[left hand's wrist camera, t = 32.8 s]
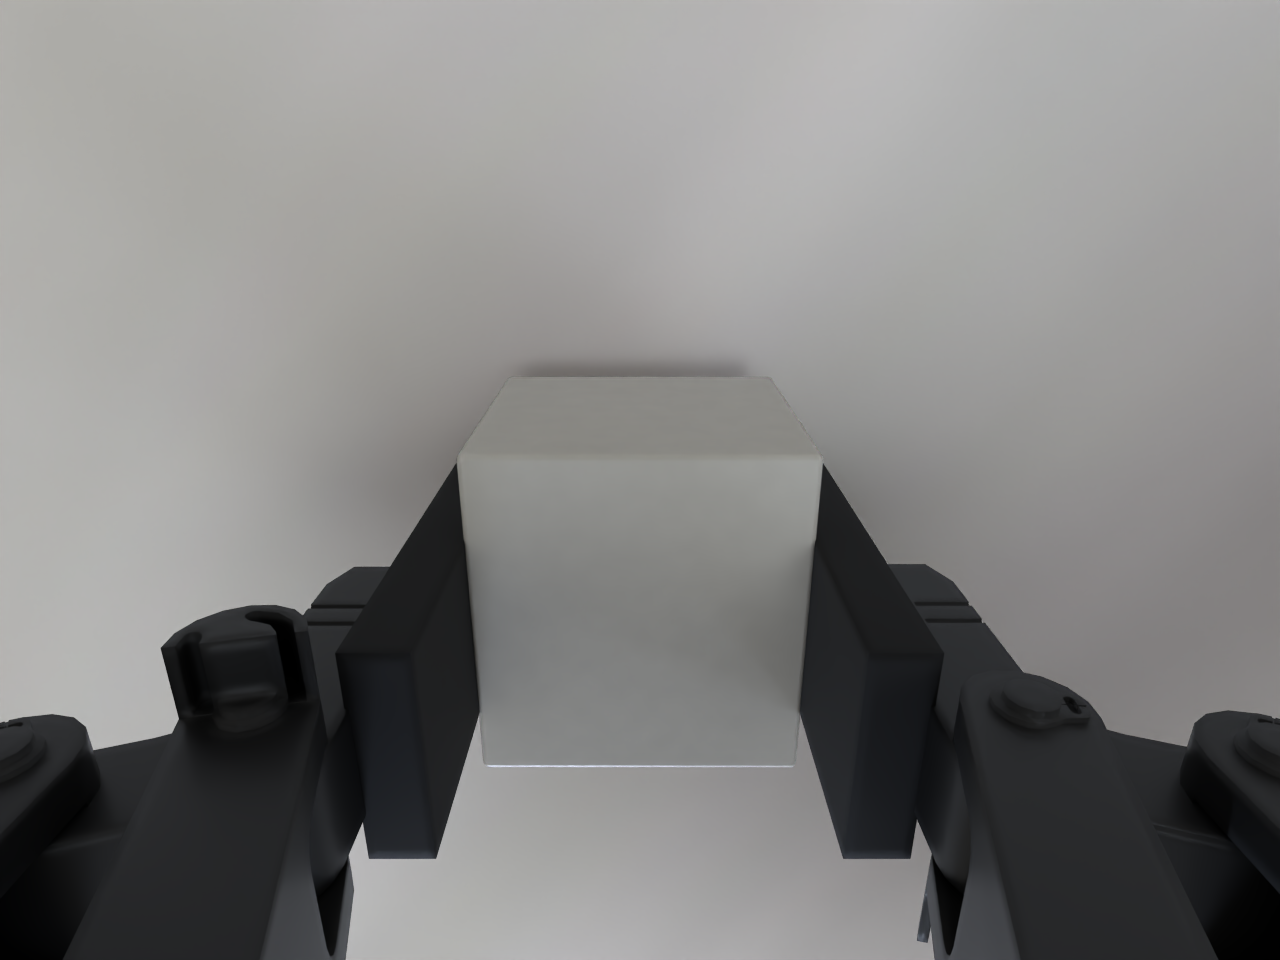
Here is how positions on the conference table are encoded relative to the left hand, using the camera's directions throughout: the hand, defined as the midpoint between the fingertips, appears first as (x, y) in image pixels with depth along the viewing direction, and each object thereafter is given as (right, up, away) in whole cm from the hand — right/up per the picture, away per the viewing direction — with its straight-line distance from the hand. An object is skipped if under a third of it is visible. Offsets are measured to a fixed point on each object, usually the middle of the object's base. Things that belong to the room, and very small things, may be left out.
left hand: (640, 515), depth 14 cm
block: (0, 0, 0) cm, 0 cm away
